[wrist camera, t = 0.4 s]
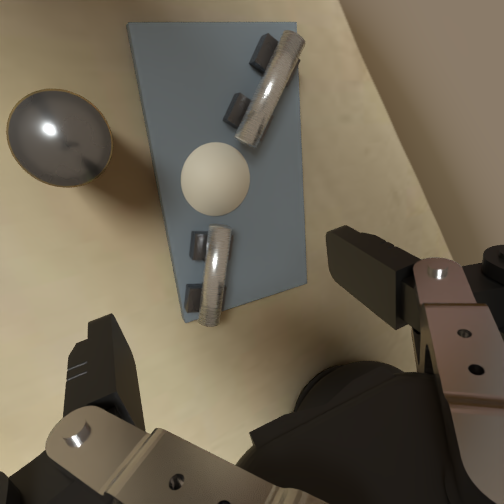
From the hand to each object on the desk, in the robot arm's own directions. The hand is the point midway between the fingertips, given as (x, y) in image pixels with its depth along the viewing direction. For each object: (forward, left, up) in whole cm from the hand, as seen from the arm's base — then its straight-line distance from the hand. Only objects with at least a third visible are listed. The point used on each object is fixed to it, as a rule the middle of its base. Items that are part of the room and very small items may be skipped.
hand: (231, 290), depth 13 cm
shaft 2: (-7, +11, -21) cm, 25 cm away
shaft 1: (+8, +5, -21) cm, 22 cm away
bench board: (0, +9, -21) cm, 22 cm away
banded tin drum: (-5, -4, -21) cm, 22 cm away
